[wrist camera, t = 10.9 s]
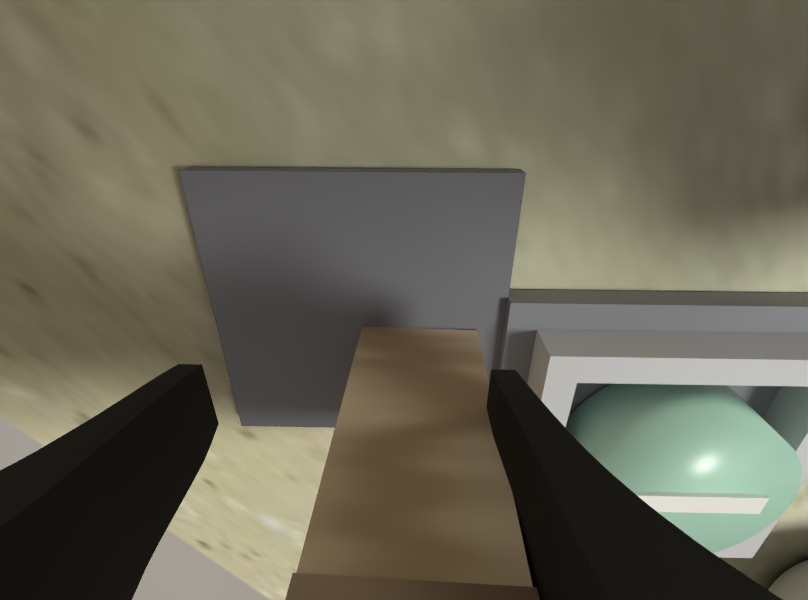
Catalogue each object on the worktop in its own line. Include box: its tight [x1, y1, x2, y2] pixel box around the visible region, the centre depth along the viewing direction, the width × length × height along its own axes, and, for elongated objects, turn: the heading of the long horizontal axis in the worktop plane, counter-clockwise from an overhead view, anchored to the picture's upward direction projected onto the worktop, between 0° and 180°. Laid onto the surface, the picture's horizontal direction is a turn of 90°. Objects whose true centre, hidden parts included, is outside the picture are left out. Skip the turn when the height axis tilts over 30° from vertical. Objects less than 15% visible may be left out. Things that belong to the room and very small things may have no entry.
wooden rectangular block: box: [286, 327, 540, 600], centre depth 11 cm, size 4×4×9 cm
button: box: [566, 384, 802, 553], centre depth 15 cm, size 7×7×3 cm
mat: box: [179, 167, 526, 427], centre depth 14 cm, size 10×10×1 cm
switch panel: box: [498, 289, 808, 558], centre depth 16 cm, size 12×12×2 cm
